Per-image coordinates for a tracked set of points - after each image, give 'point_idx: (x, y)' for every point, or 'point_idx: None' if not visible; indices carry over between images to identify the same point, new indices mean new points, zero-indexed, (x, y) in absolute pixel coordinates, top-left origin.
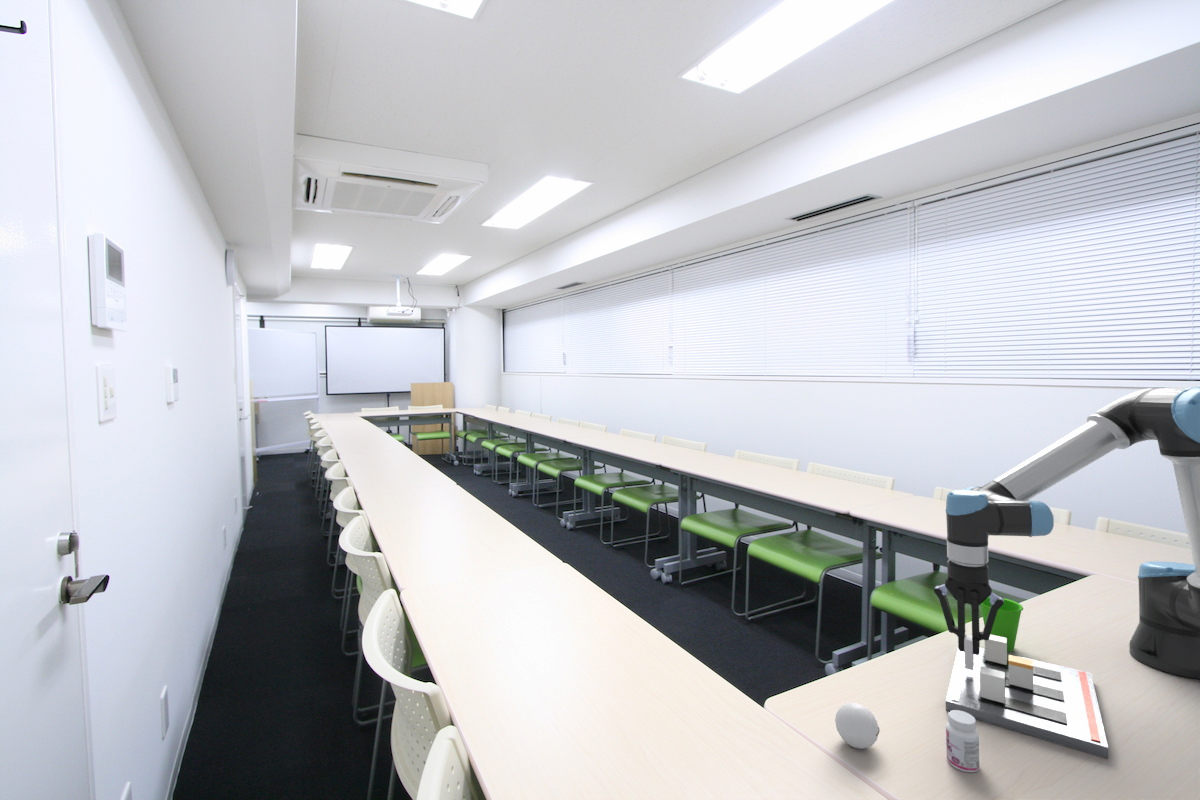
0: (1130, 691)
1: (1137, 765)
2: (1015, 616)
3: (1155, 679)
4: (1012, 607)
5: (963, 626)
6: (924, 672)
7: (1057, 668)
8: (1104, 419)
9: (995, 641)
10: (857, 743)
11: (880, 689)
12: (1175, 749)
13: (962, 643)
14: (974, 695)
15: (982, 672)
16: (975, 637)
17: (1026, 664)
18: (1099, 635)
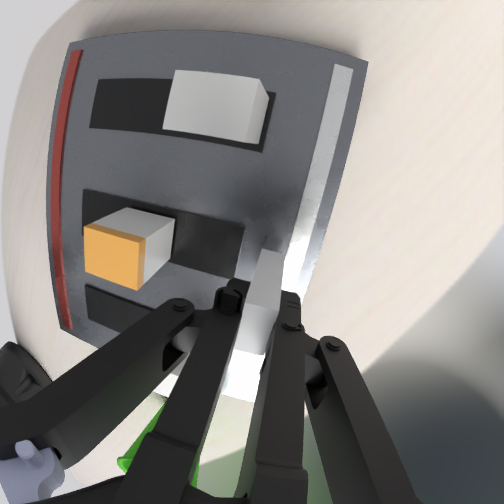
0: (38, 301)
1: (57, 58)
2: (131, 449)
3: (30, 338)
4: None
5: (275, 357)
6: (379, 266)
7: (94, 334)
8: None
9: (172, 371)
10: None
11: (487, 140)
12: (14, 144)
13: (285, 308)
14: (282, 117)
15: (247, 85)
16: (226, 310)
17: (96, 231)
18: None
